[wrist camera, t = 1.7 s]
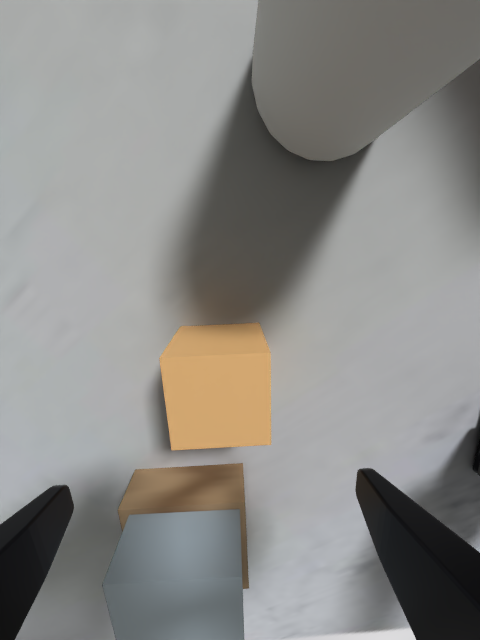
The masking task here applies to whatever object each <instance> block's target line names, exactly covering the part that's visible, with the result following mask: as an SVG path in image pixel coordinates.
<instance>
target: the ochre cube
mask: <svg viewBox="0 0 480 640" xmlns="http://www.w3.org/2000/svg"><path fill="white" fill-rule="evenodd" d="M159 359H160V367H161V374H162V382H163V389H164V397H165V404H166V412H167V420H168V427H169V435H170V442H171V450H187V449H205V448H222V447H240V446H257V445H271V361H270V350H269V347H268V345H267V342H266V340H265V337H264V334H263V332H262V329H261V327H260V324H259V323H244V324H222V325H201V326H180V328H179V329H178V331H177V332H176V334H175V335H174V337H173V338H172V340H171V341H170V343H169V344H168V346H167V347H166V349H165V350H164V352H163V353H162V355H161V356H160V358H159Z"/></svg>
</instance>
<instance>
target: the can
mask: <svg viewBox="0 0 480 640" xmlns="http://www.w3.org/2000/svg"><path fill="white" fill-rule="evenodd" d="M479 59H480V0H258V9H257V19H256V28H255V37H254V46H253V61H252V87H253V91H254V96H255V100H256V105H257V109H258V112H259V114H260V116H261V117H262V119H263V121H264V123H265V125H266V127H267V129H268V130H269V132H270V134H271V135H272V136H273V137H274V138H275V139H276V140H277V141H278V142H279V143H280V144H282V145H283V146H284V147H285V148H286V149H287V150H288V151H290V152H292V153H294V154H297V155H299V156H301V157H303V158H306V159H308V160H319V161H334V160H337V159H340V158H344V157H347V156H350V155H353V154H355V153H356V152H358V151H359V150H361V149H362V148H364V147H365V146H366V145H368V144H369V143H371V142H372V141H373V140H375V139H376V138H377V137H379V136H380V135H381V134H383V133H384V132H385V131H387V130H388V129H389V128H390V127H392V126H393V125H394V124H396V123H397V122H398V121H400V120H401V119H402V118H404V117H405V116H406V115H407V114H409V113H410V112H411V111H413V110H414V109H415V108H417V107H418V106H419V105H420V104H422V103H423V102H424V101H426V100H427V99H428V98H430V97H431V96H432V95H433V94H435V93H436V92H437V91H439V90H440V89H441V88H443V87H444V86H445V85H447V84H448V83H449V82H450V81H452V80H453V79H454V78H456V77H457V76H458V75H460V74H461V73H462V72H463V71H465V70H466V69H467V68H469V67H470V66H471V65H473V64H474V63H475V62H476V61H478V60H479Z"/></svg>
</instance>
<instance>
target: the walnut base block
mask: <svg viewBox="0 0 480 640" xmlns="http://www.w3.org/2000/svg"><path fill="white" fill-rule="evenodd" d="M232 509H240V526H241V556H242V587H243V589H247V588H249V580H248V559H247V537H246V515H245V495H244V477H243V463H240V464H223V465H206V466H189V467H172V468H156V469H139V470H135V472H134V474H133V476H132V479H131V481H130V483H129V485H128V488H127V490H126V492H125V495H124V497H123V499H122V502H121V504H120V506H119V508H118V514H119V518H120V523H121V528H122V532H123V530H124V527H125V524H126V522H127V519H128V517H129V515H134V514H154V513H173V512H193V511H212V510H232Z"/></svg>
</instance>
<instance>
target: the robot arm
mask: <svg viewBox="0 0 480 640" xmlns="http://www.w3.org/2000/svg"><path fill="white" fill-rule="evenodd" d="M473 470H474V471H475V472H476V473H477V474H478V475H479V476H480V441H479V445H478V449H477V453H476V457H475V461H474V465H473ZM356 496H357V499H358V502H359V504H360V507H361V510H362V513H363V516H364V518H365V521H366V524H367V527H368V529H369V532H370V535H371V538H372V540H373V543H374V546H375V549H376V551H377V554H378V556H379V559H380V561H381V563H382V566H383V568H384V570H385V572H386V574H387V577H388V579H389V581H390V583H391V585H392V588H393V590H394V592H395V594H396V596H397V598H398V601H399V603H400V605H401V607H402V609H403V611H404V614H405V616H406V618H407V620H408V622H409V625H410V627H411V629H412V631H413V633H414V635H415V637H416V640H480V553H479V552H478V551H477V550H476V549H474V548H473V547H472V546H471V545H469V544H468V543H467V542H465V541H464V540H463V539H462V538H460V537H459V536H458V535H456V534H455V533H454V532H453V531H451V530H450V529H449V528H448V527H446V526H445V525H444V524H442V523H441V522H440V521H439V520H437V519H436V518H435V517H434V516H432V515H431V514H430V513H428V512H427V511H426V510H425V509H423V508H422V507H421V506H419V505H418V504H417V503H416V502H414V501H413V500H412V499H411V498H409V497H408V496H407V495H405V494H404V493H403V492H402V491H400V490H399V489H398V488H397V487H395V486H394V485H393V484H391V483H390V482H389V481H388V480H386V479H385V478H384V477H382V476H381V475H380V474H379V473H377V472H376V471H375V470H373V469H371V468H364V469H359V470H358V472H357V480H356ZM73 509H74V504H73V500H72V497H71V493H70V489H69V487H68V486H67V485H55V486H52V487H50V488H49V489H48V490H46V491H45V492H43V493H42V494H41V495H39V496H38V497H37V498H35V499H34V500H33V501H31V502H30V503H29V504H27V505H26V506H25V507H23V508H22V509H21V510H19V511H18V512H17V513H15V514H14V515H13V516H11V517H10V518H8V519H7V520H6V521H4V522H3V523H2V524H0V640H15V638H16V636H17V634H18V632H19V630H20V628H21V626H22V624H23V622H24V620H25V618H26V616H27V614H28V612H29V610H30V608H31V606H32V604H33V602H34V600H35V598H36V596H37V594H38V592H39V590H40V588H41V586H42V584H43V582H44V580H45V578H46V576H47V574H48V571H49V569H50V567H51V564H52V562H53V560H54V557H55V555H56V552H57V550H58V548H59V545H60V543H61V540H62V538H63V535H64V533H65V531H66V528H67V526H68V523H69V521H70V519H71V516H72V513H73Z"/></svg>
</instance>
